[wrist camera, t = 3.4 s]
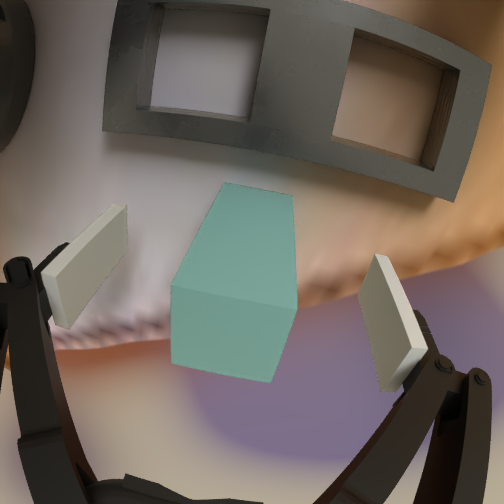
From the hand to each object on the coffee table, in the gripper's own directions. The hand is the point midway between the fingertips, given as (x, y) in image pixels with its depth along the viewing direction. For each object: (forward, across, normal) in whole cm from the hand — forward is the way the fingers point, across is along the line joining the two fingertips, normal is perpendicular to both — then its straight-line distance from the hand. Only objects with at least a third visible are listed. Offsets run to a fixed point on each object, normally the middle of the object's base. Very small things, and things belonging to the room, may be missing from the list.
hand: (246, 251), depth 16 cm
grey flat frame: (+4, +1, +9) cm, 10 cm away
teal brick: (+4, 0, 0) cm, 4 cm away
